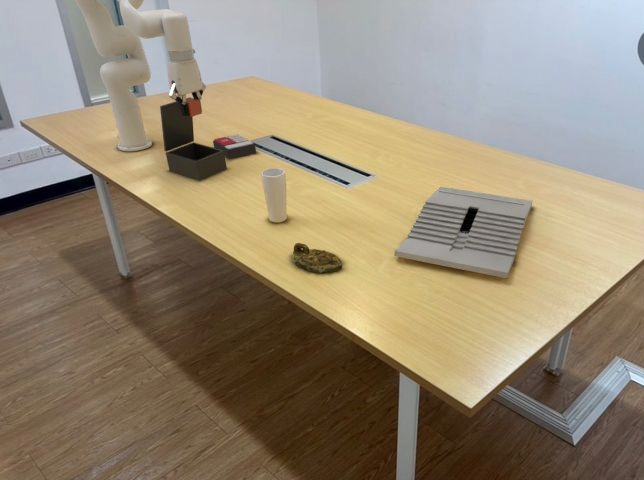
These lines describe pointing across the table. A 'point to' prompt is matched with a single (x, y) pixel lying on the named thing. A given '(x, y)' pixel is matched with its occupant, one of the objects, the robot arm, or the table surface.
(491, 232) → the grey grooved board
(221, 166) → the case
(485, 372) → the table surface
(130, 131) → the robot arm
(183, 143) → the case lid
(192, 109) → the block
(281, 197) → the drinking glass
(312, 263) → the seal
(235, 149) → the calculator
